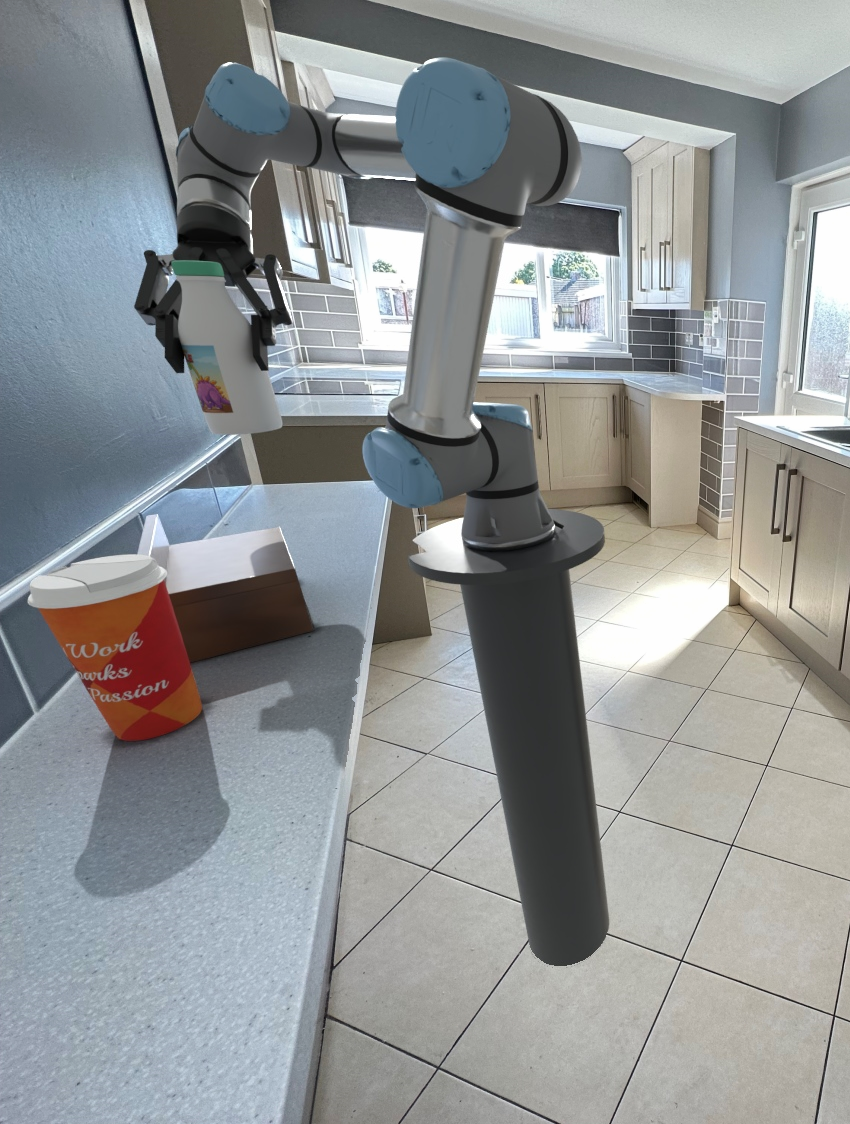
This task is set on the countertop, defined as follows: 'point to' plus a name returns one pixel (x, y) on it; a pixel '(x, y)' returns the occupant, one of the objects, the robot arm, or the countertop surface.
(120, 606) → the coffee cup
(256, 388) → the milk bottle
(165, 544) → the brown wooden box
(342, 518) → the countertop surface
